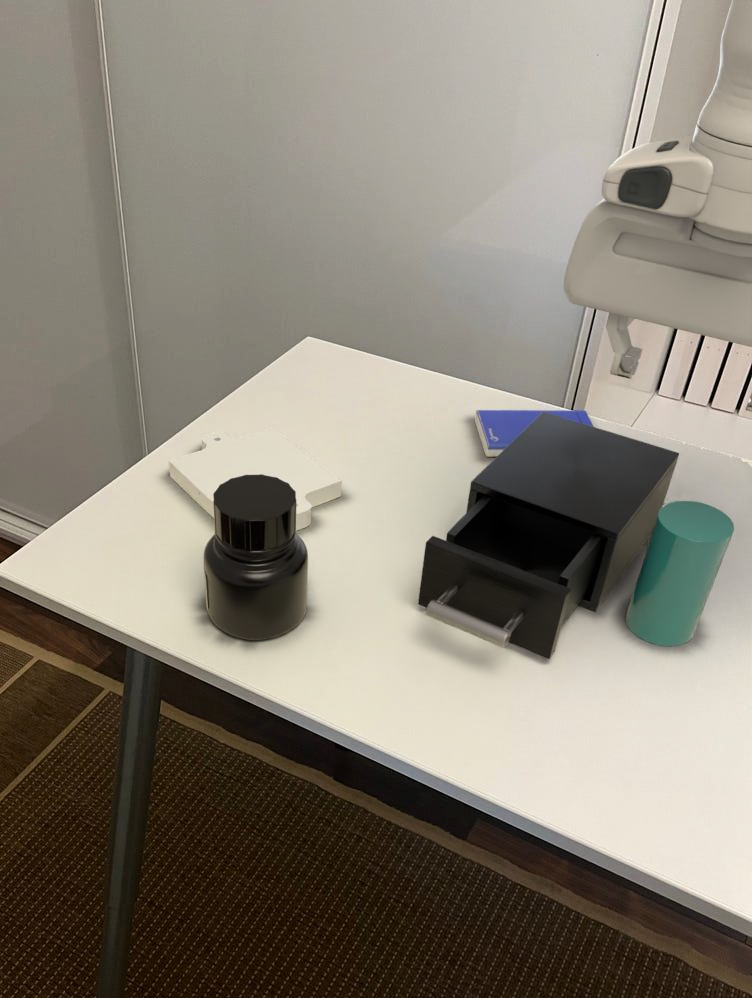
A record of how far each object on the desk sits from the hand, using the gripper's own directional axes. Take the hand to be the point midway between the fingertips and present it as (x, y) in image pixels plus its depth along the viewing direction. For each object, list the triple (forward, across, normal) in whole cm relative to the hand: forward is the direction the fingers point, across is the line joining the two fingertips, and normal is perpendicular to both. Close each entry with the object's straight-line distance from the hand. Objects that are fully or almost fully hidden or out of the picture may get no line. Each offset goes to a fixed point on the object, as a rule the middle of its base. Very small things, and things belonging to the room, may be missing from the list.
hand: (688, 391), depth 68 cm
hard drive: (+23, +17, -28) cm, 41 cm away
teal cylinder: (+23, -3, -4) cm, 24 cm away
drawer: (+22, +9, +1) cm, 24 cm away
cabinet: (+23, +8, -11) cm, 27 cm away
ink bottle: (+24, +28, +13) cm, 39 cm away
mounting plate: (+24, +39, -4) cm, 46 cm away
